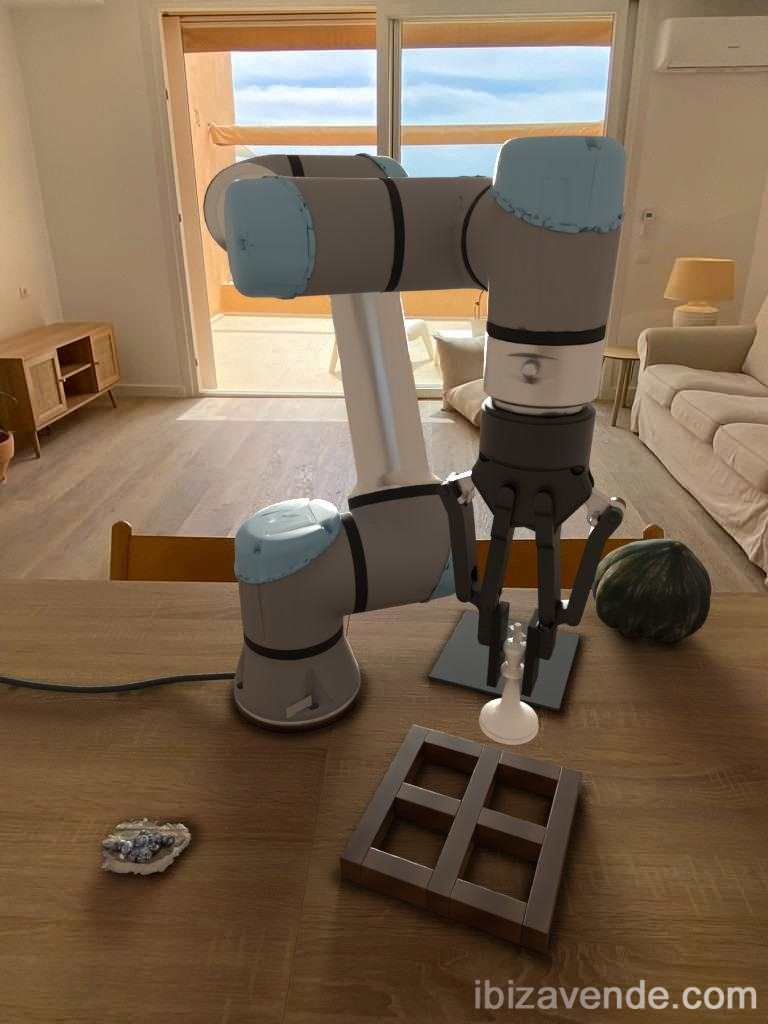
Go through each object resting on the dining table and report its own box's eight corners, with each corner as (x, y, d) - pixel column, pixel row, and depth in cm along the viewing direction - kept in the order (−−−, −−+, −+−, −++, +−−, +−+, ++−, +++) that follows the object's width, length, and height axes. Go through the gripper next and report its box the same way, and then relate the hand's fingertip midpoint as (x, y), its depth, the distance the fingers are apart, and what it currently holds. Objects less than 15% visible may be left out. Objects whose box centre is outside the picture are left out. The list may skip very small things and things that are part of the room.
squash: (586, 554, 104) (608, 515, 90) (690, 565, 102) (729, 526, 88) (584, 648, 98) (606, 621, 85) (694, 661, 96) (735, 635, 83)
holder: (340, 877, 61) (339, 857, 60) (412, 741, 76) (412, 724, 75) (545, 954, 55) (547, 934, 54) (579, 790, 70) (582, 771, 69)
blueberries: (101, 831, 66) (97, 816, 65) (187, 806, 69) (184, 792, 68) (101, 891, 60) (98, 876, 59) (196, 862, 63) (193, 847, 62)
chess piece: (501, 753, 55) (511, 650, 51) (467, 715, 59) (473, 616, 55) (550, 732, 57) (563, 632, 53) (514, 697, 61) (524, 601, 57)
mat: (428, 678, 86) (428, 676, 86) (465, 613, 100) (465, 610, 100) (558, 711, 81) (559, 709, 80) (579, 637, 94) (579, 635, 94)
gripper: (412, 401, 46) (408, 685, 56) (654, 430, 40) (602, 738, 50) (448, 375, 52) (439, 634, 62) (663, 396, 47) (614, 677, 57)
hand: (512, 680), depth 56 cm, fingers closed on chess piece, 2 cm apart
